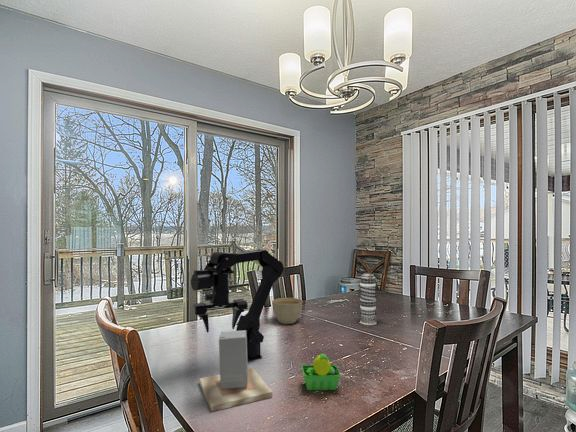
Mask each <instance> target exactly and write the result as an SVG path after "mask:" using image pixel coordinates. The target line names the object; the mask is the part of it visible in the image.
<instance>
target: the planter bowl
mask: <svg viewBox="0 0 576 432" xmlns="http://www.w3.org/2000/svg"><path fill="white" fill-rule="evenodd" d="M271 303H272V305H271V306H272V310H273V313H274V316H275V317H276V319H277V321H278V323H280V324H284V325H288V324H290V325H291V324H295V323H296V322H297V320H298V318H299V317H300V314H301V313H302V309H303V300H302V299H301V298H295V297H281V298H276V299H272V301H271Z"/></svg>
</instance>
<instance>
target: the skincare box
mask: <svg viewBox="0 0 576 432" xmlns="http://www.w3.org/2000/svg"><path fill="white" fill-rule="evenodd" d="M218 349H219V352H218V353H219V375H220V383H221V389H234V388H246V387H247V384H248V369H249V367H248V366H249V365H248V364H249V360H247V334H246V330H242V331H236V330H232V331H231V330H230V331H229V330H228V331H221V333H220V335H219V338H218Z"/></svg>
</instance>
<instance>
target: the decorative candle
mask: <svg viewBox="0 0 576 432" xmlns="http://www.w3.org/2000/svg"><path fill="white" fill-rule="evenodd" d="M359 278H360V282H359V284H358V287H359V288H358V290H359V291H358V293H359V294H360V295H359V296H358V297H359V301H360V305H359V307H360V308H359V314H360V315H359V324H362V325H365V326H374V325H377V324H378V323H377V319H378V318H377V306H376V301H377V297H378V296H377V295H378V293H377V292H376V291H378V289H377V287H378V286H377V283H376V276H375V275H374V274H372V273H362V274H361V276H359Z"/></svg>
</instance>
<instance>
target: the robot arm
mask: <svg viewBox="0 0 576 432" xmlns="http://www.w3.org/2000/svg"><path fill="white" fill-rule="evenodd" d="M254 261H258V263H259V265H260V266H261V267H262V269H261V281H260V283H259V285H258V288H257V290H256V293H255V295H254V296H253V300H252V302H251V304H250V307H248V301H246V300H245V299H243V298H237V299H235V298H234V299H233V300H232V302H229V300H230V299H229V295H230V290H229V289H230V288H229V287H230V285H229V284H230V283H229V282H230V280H229V277H230V276H229V275H231V274H234V273H235V271H234V270H233V269H231V268H232V267H234V266H235V265H237V264H241V263H247V262H254ZM284 269H285V267H284V265H283V262H282V261H281V260H278V258H276V257H275V256H273V255H272V254H271V253H270V252H269V251H267V250H266V249H256V250H245V251H239V252H227V251H226V252H225V251H214V252H212V254H211V255H210V260H209V261H208V262H207V264H206V266H205V267H204V269H200V270H199V269H195V270H193V274H192V276H191V278H190V286H191V288H192V290H193V291H201V290H208V289H209V290H210V289H212V290H211V291H205V292H204V301H205V302H208V301H209V304H206V303H205V302H198V303H197V302H196V303H194V304H192V312H193V314H194V315H195V316H198V317H199V318H201V319H202V321H203V325H204V327H205V330H206V333H207V334H208V333H209V331H210V327H209V314H208V311H215V310H224V309H232V317H231V318H232V319H231V321H232V322H231V329H233V330H234V329H235V327H236V329H235V331H242V330H246V334H247V360H248V361H252V360H253V361H254V360H258V359H262V358H263V356H262V355H261V343H263V342H264V338H265V335H264V334H262V333H261V331H259V330H260V328H261V327H260V326H261V322H260V321H261V320H260V318H261V314H262V312H263V310H264V307H265V305H266V302H267V300H268V297H269V295H270V292H271V290H272V288H273V286H274V283H275V282H276V281H278V280H279V279H280V278H281V276H282V275H283V272H284ZM248 308H249V309H248ZM245 310H248V311H247V313H246V314H245V315H242V313H244V312H245Z"/></svg>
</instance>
